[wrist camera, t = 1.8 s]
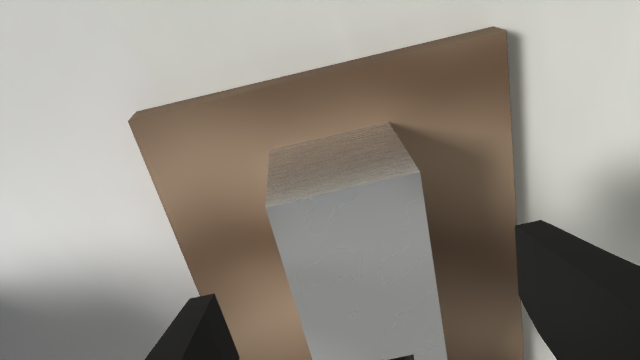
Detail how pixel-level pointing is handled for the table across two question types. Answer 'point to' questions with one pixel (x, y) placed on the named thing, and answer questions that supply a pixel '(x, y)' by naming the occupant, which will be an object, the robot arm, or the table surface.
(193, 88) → the table surface
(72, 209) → the table surface
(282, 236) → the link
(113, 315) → the table surface
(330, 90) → the stand
